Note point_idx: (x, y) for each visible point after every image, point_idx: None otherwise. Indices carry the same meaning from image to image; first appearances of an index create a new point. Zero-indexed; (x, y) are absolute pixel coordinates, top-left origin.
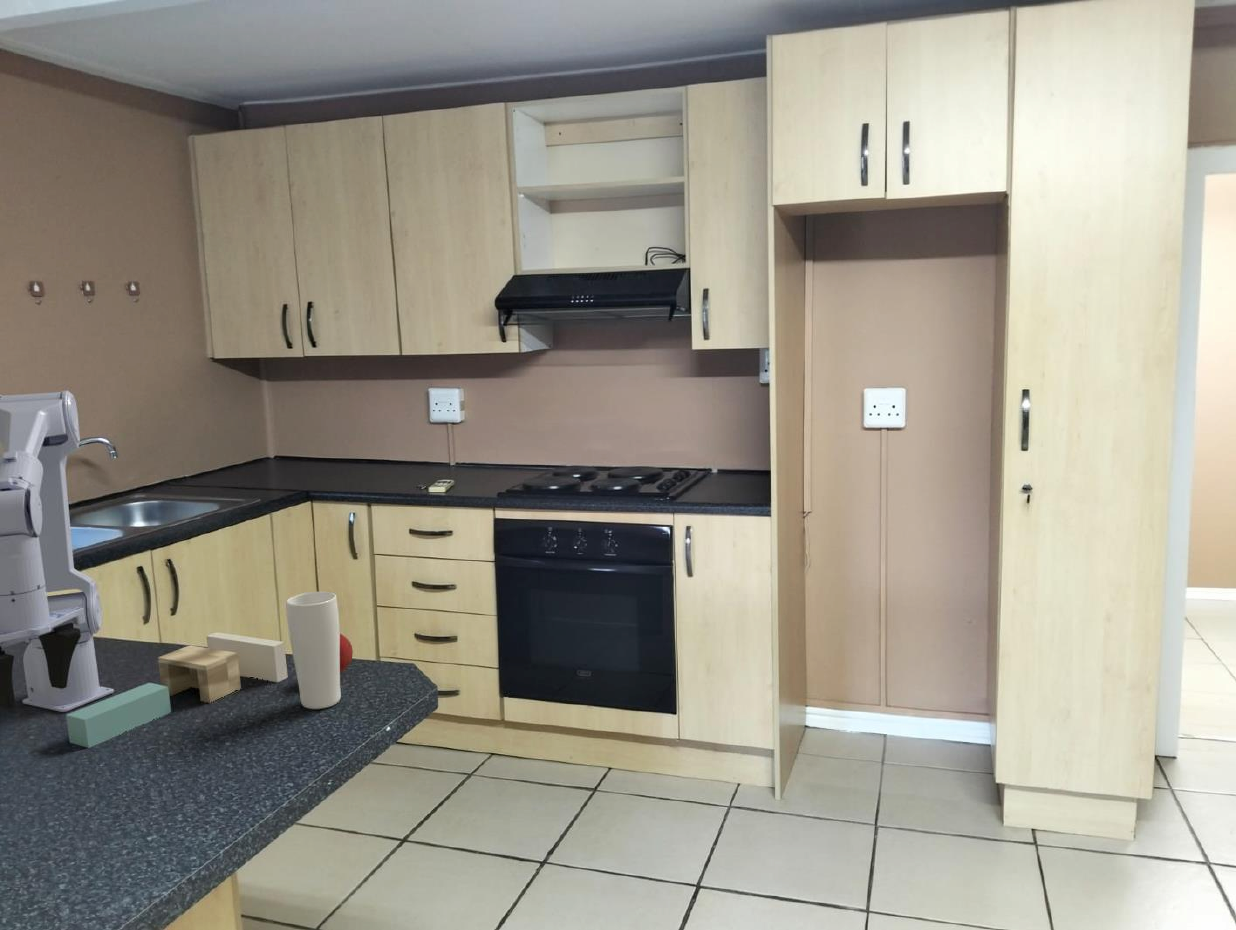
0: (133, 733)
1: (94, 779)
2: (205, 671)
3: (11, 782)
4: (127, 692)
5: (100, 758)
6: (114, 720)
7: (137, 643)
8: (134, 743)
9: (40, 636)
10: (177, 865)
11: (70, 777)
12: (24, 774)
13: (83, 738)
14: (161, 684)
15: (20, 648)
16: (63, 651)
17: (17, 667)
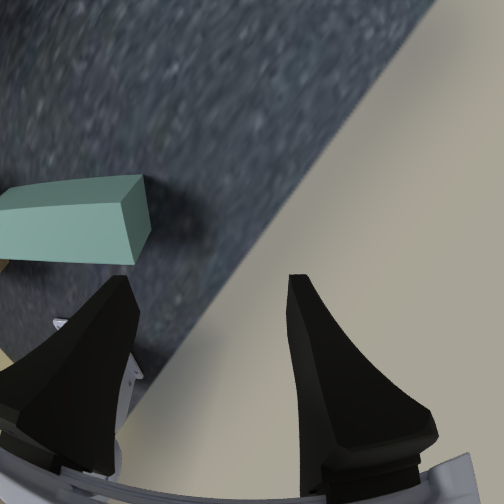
0: (68, 160)
1: (229, 16)
2: None
3: (309, 168)
4: (28, 254)
5: (157, 102)
6: (74, 192)
7: None
8: (86, 112)
9: (109, 463)
10: None
11: (245, 72)
12: (275, 177)
13: (138, 195)
14: (1, 270)
15: None
16: (59, 369)
17: None
